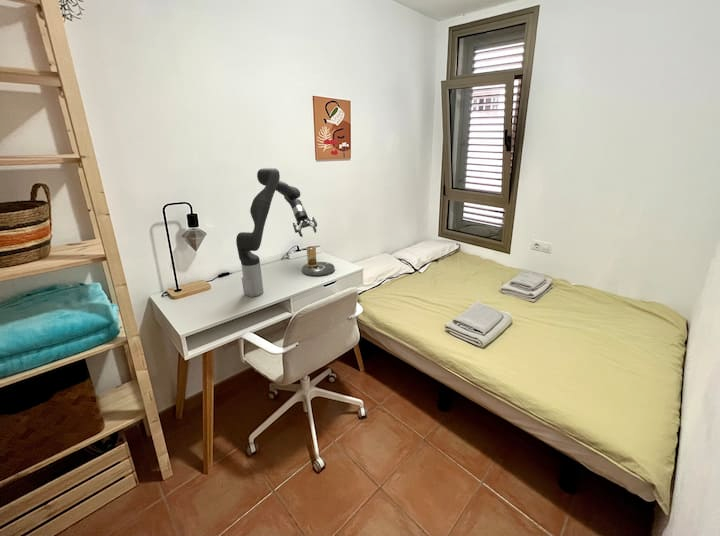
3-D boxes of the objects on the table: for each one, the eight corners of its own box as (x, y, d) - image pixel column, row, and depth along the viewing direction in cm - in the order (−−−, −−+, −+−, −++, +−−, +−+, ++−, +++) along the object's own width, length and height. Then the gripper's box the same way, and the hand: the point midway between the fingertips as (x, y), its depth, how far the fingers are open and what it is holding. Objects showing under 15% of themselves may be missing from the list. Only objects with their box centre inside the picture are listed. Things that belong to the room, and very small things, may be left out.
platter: (318, 278, 195) (318, 275, 194) (295, 271, 206) (295, 268, 205) (340, 268, 210) (340, 265, 209) (317, 262, 221) (317, 259, 220)
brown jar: (312, 268, 205) (311, 249, 201) (304, 266, 209) (303, 247, 205) (320, 265, 211) (319, 246, 206) (312, 263, 215) (311, 244, 210)
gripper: (288, 213, 204) (296, 234, 197) (310, 207, 208) (319, 227, 201) (290, 220, 211) (298, 241, 204) (311, 214, 214) (320, 234, 207)
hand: (308, 234), depth 202 cm, fingers open, 8 cm apart
